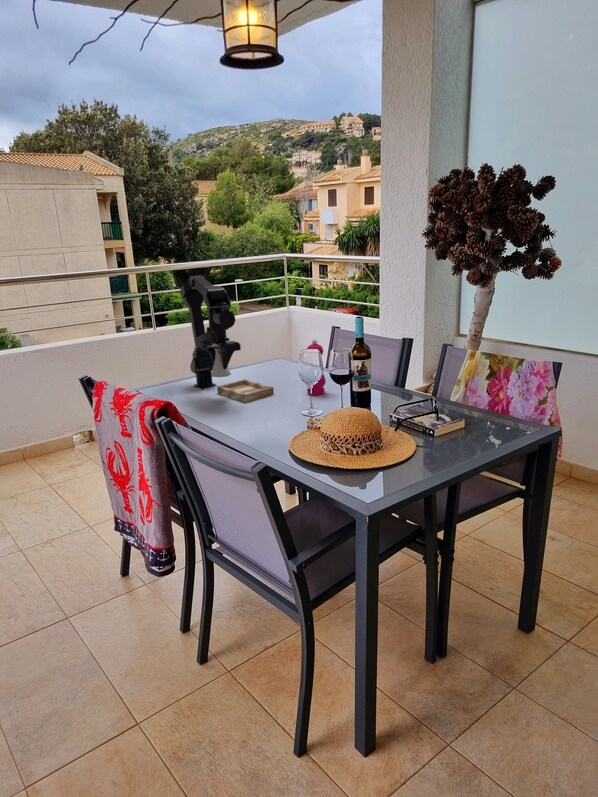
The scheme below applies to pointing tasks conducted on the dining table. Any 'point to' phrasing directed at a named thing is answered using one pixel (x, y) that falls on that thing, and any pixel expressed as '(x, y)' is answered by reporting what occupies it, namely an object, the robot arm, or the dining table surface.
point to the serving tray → (245, 390)
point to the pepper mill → (318, 386)
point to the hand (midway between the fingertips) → (220, 367)
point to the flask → (219, 366)
